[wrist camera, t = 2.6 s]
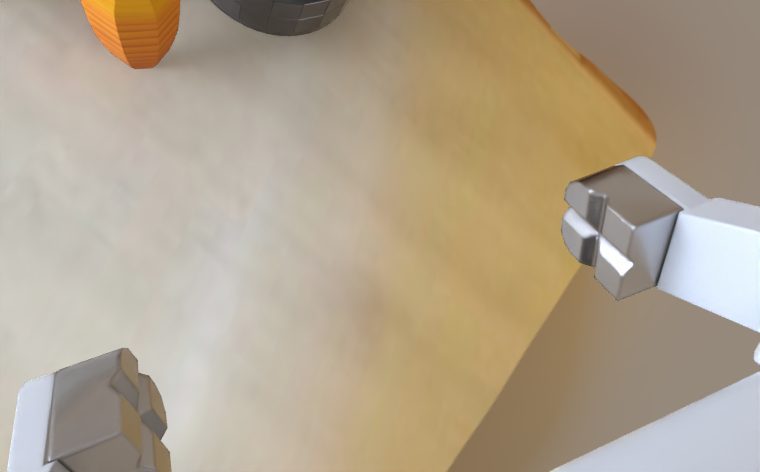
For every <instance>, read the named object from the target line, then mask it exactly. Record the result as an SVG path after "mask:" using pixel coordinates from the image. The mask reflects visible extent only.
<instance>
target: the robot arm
mask: <svg viewBox="0 0 760 472" xmlns="http://www.w3.org/2000/svg"><path fill="white" fill-rule="evenodd" d="M564 200H565V201H566V202H567V204H568V205H569V206H570V207H569V208H568V210H567V211H566V213H565V214H564V216H563V217H562V225H561V233H562V236H563V239H564V243H565V245H566V247H567V248H568V250H569V252H570V253H571V255H572V256H573V257H574V258H575V259H576V260H577V261H578V262H579V263H582V264H585V265H588V266H592V267H594V278H595V279H596V280H597V281H598V282H599V283H600V284H601V285H602V286H603V287H604V288H605V289H606V290H607V291H608V292H609V293H610V294H611V295H612V296H613V297H614V298H615V299H616V300H617V301H619V300H621V299H624V298H627V297H629V296H631V295H634V294H637V293H639V292H642V291H644V290H647V289H650V288H652V287H655V286H657V288H658V289H660V290H662V291H665V292H667V293H669V294H671V295H674V296H676V297H678V298H681V299H683V300H685V301H688V302H690V303H692V304H695V305H697V306H699V307H701V308H704V309H706V310H709V311H711V312H714V313H716V314H718V315H720V316H723V317H725V318H727V319H730V320H732V321H734V322H736V323H739V324H741V325H743V326H746V327H748V328H750V329H753V330H755V331H757V332H759V333H760V207H759V206H754V205H750V204H746V203H741V202H737V201H732V200H728V199H723V198H719V197H717V198H714V199H711V200H710V199H709V198H707V197H705V196H704V195H703V194H701V193H700V192H698V191H697V190H695V189H694V188H693V187H691V186H689V185H688V184H686V183H685V182H684V181H682V180H681V179H679V178H678V177H676V176H675V175H673V174H672V173H671V172H669V171H668V170H666V169H664V168H663V167H662V166H660V165H659V164H657V163H656V162H654V161H653V160H652V159H650V158H648V157H645V156H637V157H634V158H632V159H629V160H627V161H624V162H621V163H619V164H616V165H615V166H611V167H608V168H606V169H603V170H601V171H598V172H595V173H593V174H590V175H587V176H585V177H582V178H580V179H577V180H574V181H572V182H570V183H569V184H568V186H567V187H566V189H565V196H564ZM754 361H755V362H757V363H758V364H759V365H760V343H759V344H758V346H757V348H756V350H755V352H754ZM166 430H167V420H166V412H165V408H164V405H163V401H162V398H161V395H160V393H159V391H158V389H157V387H156V385H155V383H154V382H153V380H152V379H151V378H150V376H148V375H145V374H141V373H138V360H137V359H136V358H135V356H134V355H133V354H132V353H131V351H130V350H129V349H128V348H121V349H118V350H115V351H112V352H109V353H106V354H104V355H101V356H98V357H95V358H92V359H89V360H86V361H83V362H80V363H77V364H75V365H72V366H69V367H66V368H63V369H60V370H59V371H56V372H53V373H50V374H48V375H45V376H42V377H39V378H36V379H33V380H30V381H27V382H25V383H24V385H23V386H22V388H21V389H20V391H19V395H18V402H17V408H16V415H15V422H14V428H13V435H12V442H11V449H10V455H9V462H8V469H7V472H171V461H170V452H169V450H168V449H167V448H166V447H165V445H164V444H163V443H162V442H161V439H162V437H163V435H164V433H165V431H166ZM549 472H760V371H759V372H757V373H755V374H753V375H751V376H748V377H746V378H744V379H742V380H740V381H738V382H736V383H734V384H732V385H730V386H727V387H726V388H723V389H721V390H719V391H717V392H715V393H713V394H711V395H709V396H707V397H705V398H702V399H700V400H698V401H696V402H694V403H692V404H690V405H688V406H685V407H683V408H681V409H679V410H677V411H675V412H673V413H671V414H669V415H667V416H665V417H662V418H660V419H658V420H656V421H654V422H652V423H650V424H648V425H646V426H643V427H641V428H639V429H637V430H635V431H633V432H631V433H629V434H627V435H625V436H622V437H620V438H619V439H616V440H614V441H612V442H610V443H608V444H606V445H604V446H602V447H600V448H597V449H595V450H593V451H591V452H589V453H587V454H585V455H583V456H581V457H578V458H576V459H575V460H572V461H570V462H568V463H566V464H564V465H562V466H560V467H558V468H555V469H553V470H551V471H549Z"/></svg>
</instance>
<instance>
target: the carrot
mask: <svg viewBox="0 0 760 472" xmlns="http://www.w3.org/2000/svg"><path fill="white" fill-rule="evenodd" d="M80 1H81V3H82V6H83V8H84V11H85V13H86V16H87V18H88V20H89V22H90V24H91V27H92V29H93V31H94V33H95V34H96V36H97V37H98V38H99V40H100V41H101V42H102V43H103V45H104V46H105V47H106V48H107V49H108V50H109V51H110V52H111V53H112V54H113V55H115V56H116V57H118V58H119V59H120V60H122V61H123V62H125V63H126V64H128V65H129V66H130V67H132V68H134V69H144V68H153V67H155V66H156V65H157V64H158V62H159V61H160V60H161V59H162V58H163V57H164V55H165V54H166V53H167V52H168V51H169V49H170V47H171V45H172V43H173V41H174V39H175V36H176V34H177V31H178V25H179V15H180V0H80Z"/></svg>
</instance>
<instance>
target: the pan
mask: <svg viewBox="0 0 760 472" xmlns="http://www.w3.org/2000/svg"><path fill="white" fill-rule="evenodd" d="M212 1H213V2H214V3H215V5H217V6H218V7H219V8H220V9H221V10H222V11H223V12H224V13H226V14H227V15H228V16H230V17H231V18H233V19H234V20H236V21H237V22H239V23H241V24H243V25H244V26H247V27H249V28H251V29H254V30H256V31H260V32H263V33H266V34H272V35H278V36H297V35H303V34H308V33H311V32H314V31H317V30H319V29H321V28H323V27H325V26H327V25H328V24H330V23H331V22H332V21H334V20H335V19H336V18H337V17H338V16H339V15H340V14H341V13H342V11H343V10H344V9H345V7H346V6H347V4H348V3H349V1H350V0H212Z"/></svg>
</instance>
